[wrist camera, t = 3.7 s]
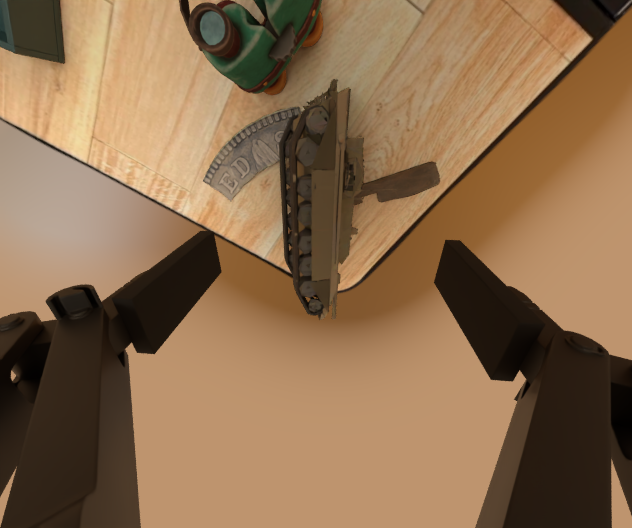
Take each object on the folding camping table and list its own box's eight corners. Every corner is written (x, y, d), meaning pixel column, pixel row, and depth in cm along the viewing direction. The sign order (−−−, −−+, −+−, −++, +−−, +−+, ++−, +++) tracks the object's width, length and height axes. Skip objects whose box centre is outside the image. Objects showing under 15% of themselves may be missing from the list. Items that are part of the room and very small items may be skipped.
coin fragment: (222, 206, 29) (220, 207, 28) (193, 167, 27) (191, 167, 27) (318, 143, 25) (317, 143, 24) (291, 92, 23) (290, 91, 23)
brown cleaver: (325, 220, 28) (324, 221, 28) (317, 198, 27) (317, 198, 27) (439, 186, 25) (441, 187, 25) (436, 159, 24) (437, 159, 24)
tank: (274, 86, 22) (381, 92, 24) (286, 303, 32) (361, 293, 34) (290, 58, 14) (442, 70, 17) (299, 354, 24) (394, 337, 26)
